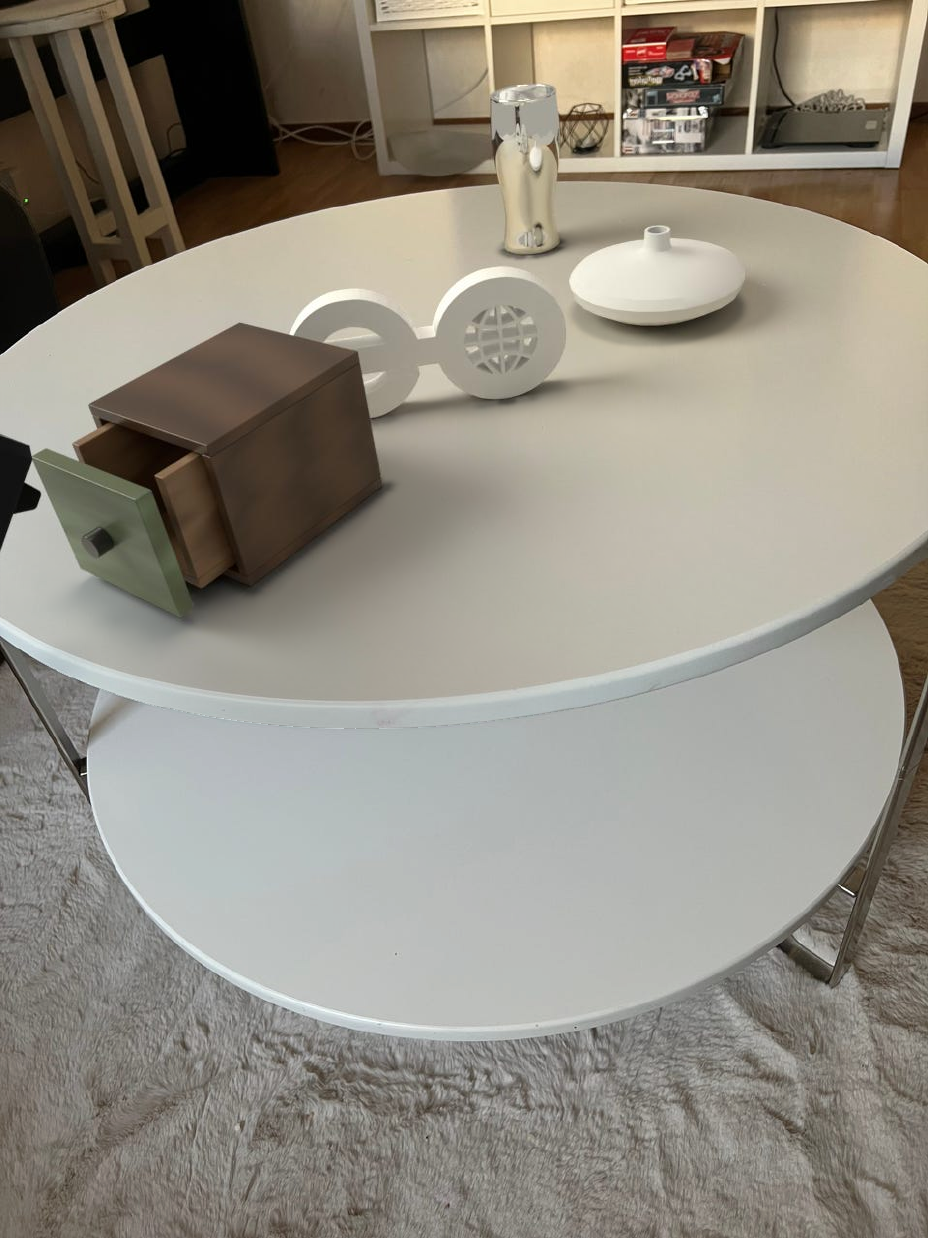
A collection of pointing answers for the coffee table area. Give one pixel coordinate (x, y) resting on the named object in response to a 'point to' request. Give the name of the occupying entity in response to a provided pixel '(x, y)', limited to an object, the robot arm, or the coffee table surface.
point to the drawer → (138, 514)
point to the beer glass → (527, 164)
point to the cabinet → (262, 434)
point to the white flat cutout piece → (448, 336)
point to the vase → (657, 279)
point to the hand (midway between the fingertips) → (35, 499)
